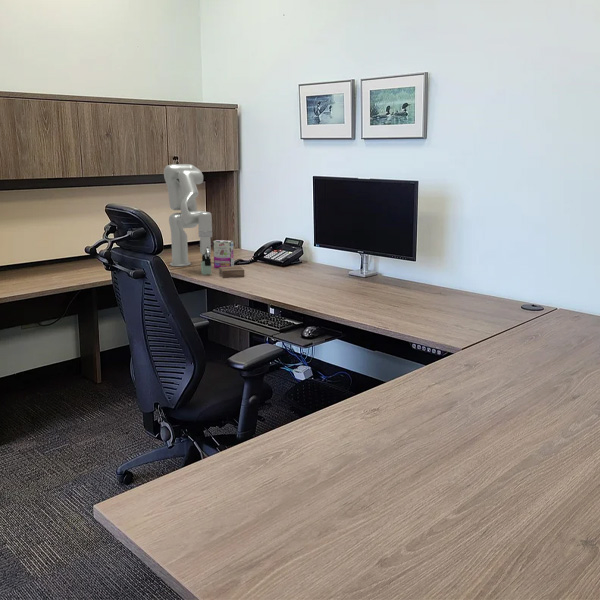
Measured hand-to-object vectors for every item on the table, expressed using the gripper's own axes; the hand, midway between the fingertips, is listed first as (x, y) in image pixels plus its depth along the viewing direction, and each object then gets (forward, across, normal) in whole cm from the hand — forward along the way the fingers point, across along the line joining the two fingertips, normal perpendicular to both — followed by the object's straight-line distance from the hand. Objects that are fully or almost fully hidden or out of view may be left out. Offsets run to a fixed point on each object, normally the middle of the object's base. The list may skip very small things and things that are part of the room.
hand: (206, 264), depth 354 cm
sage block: (+6, -1, 0) cm, 6 cm away
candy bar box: (+6, -16, +13) cm, 21 cm away
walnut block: (+6, +7, +13) cm, 16 cm away
